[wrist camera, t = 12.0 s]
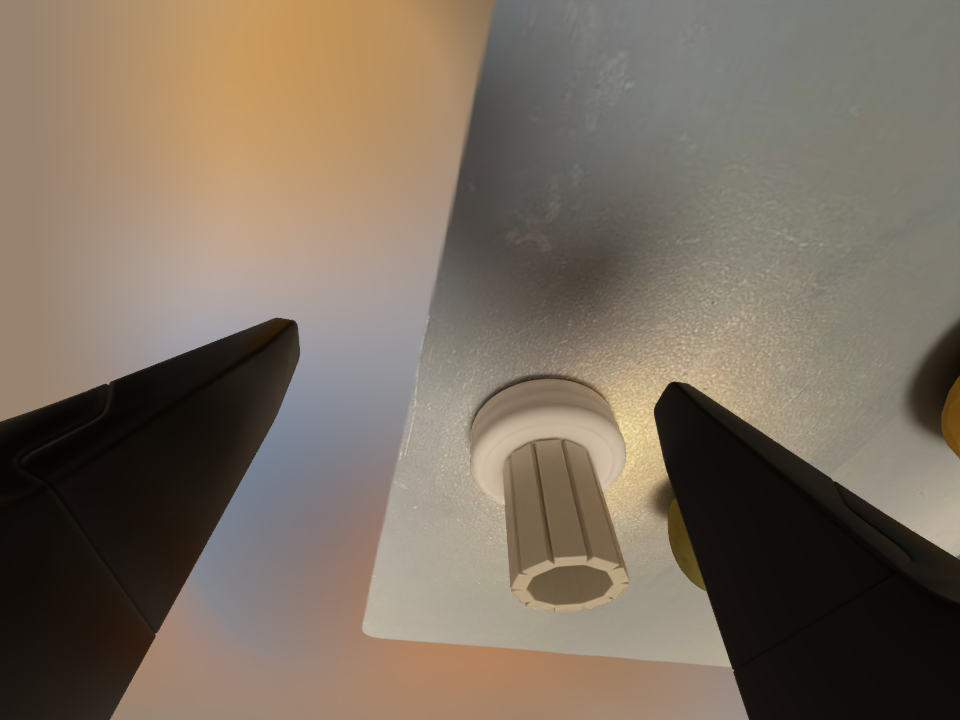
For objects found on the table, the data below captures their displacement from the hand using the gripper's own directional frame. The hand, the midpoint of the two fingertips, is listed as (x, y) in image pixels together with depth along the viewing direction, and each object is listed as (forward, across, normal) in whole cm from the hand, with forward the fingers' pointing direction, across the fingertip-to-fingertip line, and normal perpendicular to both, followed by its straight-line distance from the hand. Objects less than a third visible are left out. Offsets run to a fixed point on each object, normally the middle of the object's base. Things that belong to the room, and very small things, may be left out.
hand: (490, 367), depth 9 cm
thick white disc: (+12, -7, +14) cm, 19 cm away
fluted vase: (+8, -7, +13) cm, 17 cm away
